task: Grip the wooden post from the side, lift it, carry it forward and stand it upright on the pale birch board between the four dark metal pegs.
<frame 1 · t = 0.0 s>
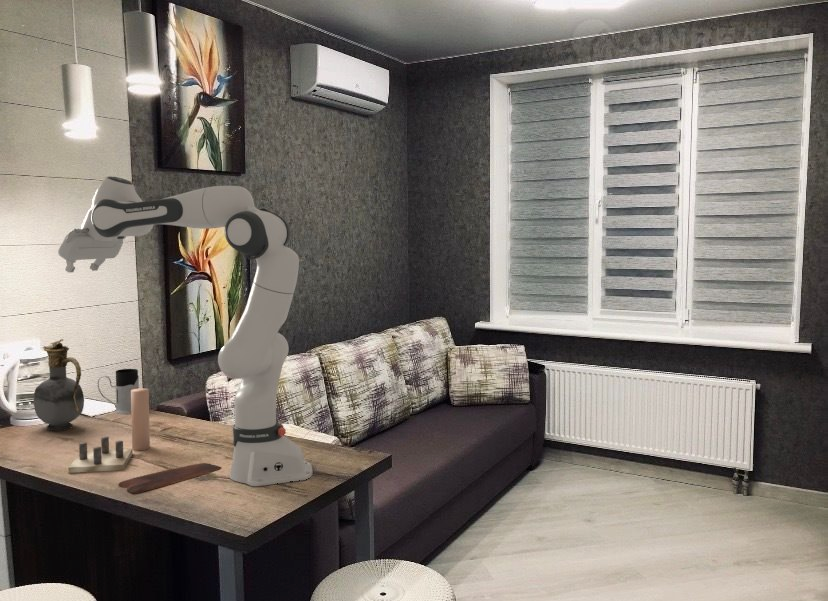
hand: (81, 270, 199), 54 cm above the table, tool tilted 30°, fingers open, 8 cm apart
post: (141, 448, 210), on the table
pitcher: (63, 429, 229), on the table
glass holder: (119, 412, 251), on the table
wooden tablet: (172, 479, 187), on the table
peg stand: (101, 462, 197), on the table
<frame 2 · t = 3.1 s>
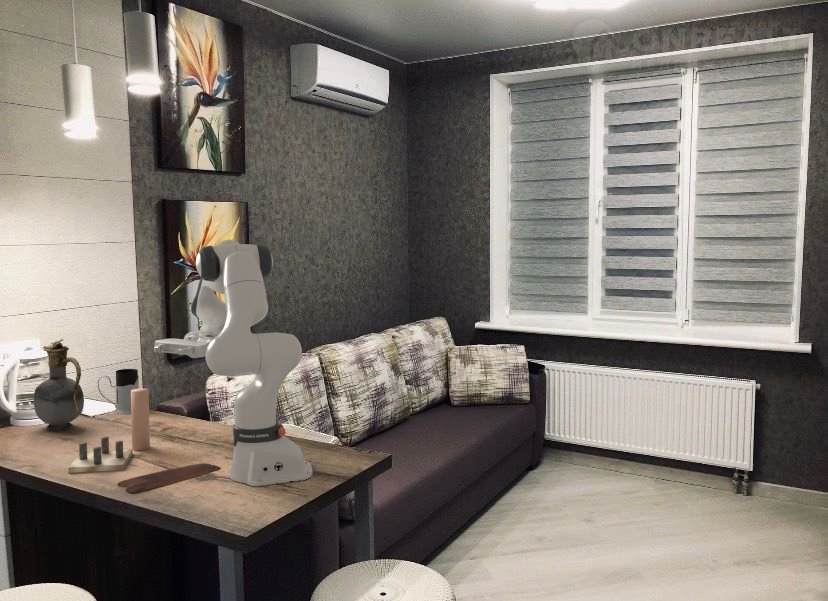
hand: (167, 351, 219), 28 cm above the table, tool horizontal, fingers open, 8 cm apart
nothing on the table moved.
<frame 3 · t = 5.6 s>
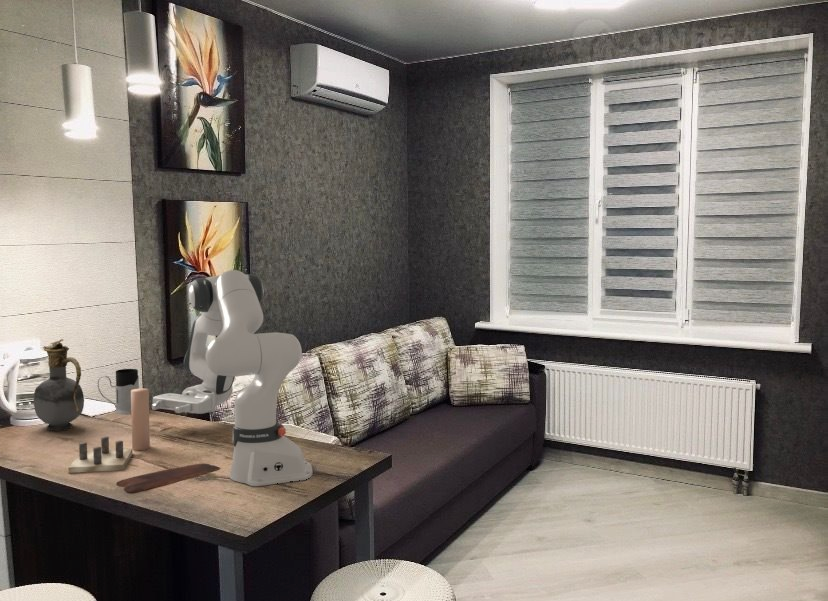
hand: (165, 408, 219), 10 cm above the table, tool horizontal, fingers open, 8 cm apart
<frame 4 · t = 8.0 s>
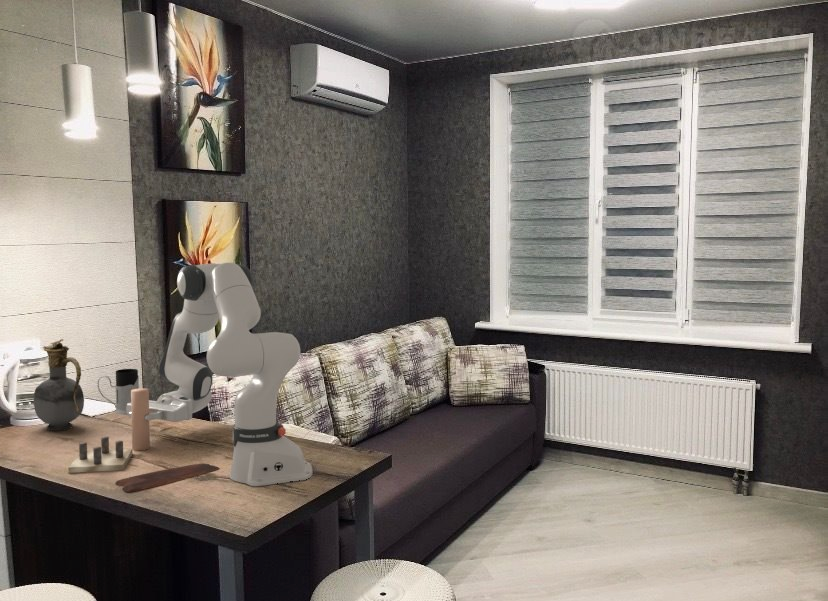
hand: (138, 416, 209), 10 cm above the table, tool horizontal, fingers closed on post, 5 cm apart
post: (141, 448, 210), on the table, touching gripper
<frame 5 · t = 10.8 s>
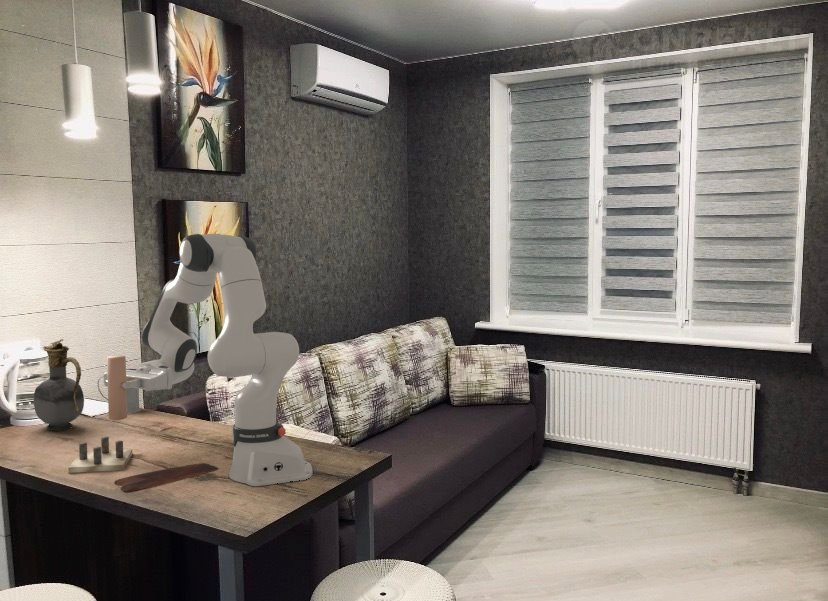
hand: (114, 384, 199), 22 cm above the table, tool horizontal, fingers closed on post, 5 cm apart
post: (118, 417, 201), point 12 cm above the table, touching gripper
when the fingers open (13 cm above the table, at t = 13.9 s): post drops 1 cm, resting on peg stand.
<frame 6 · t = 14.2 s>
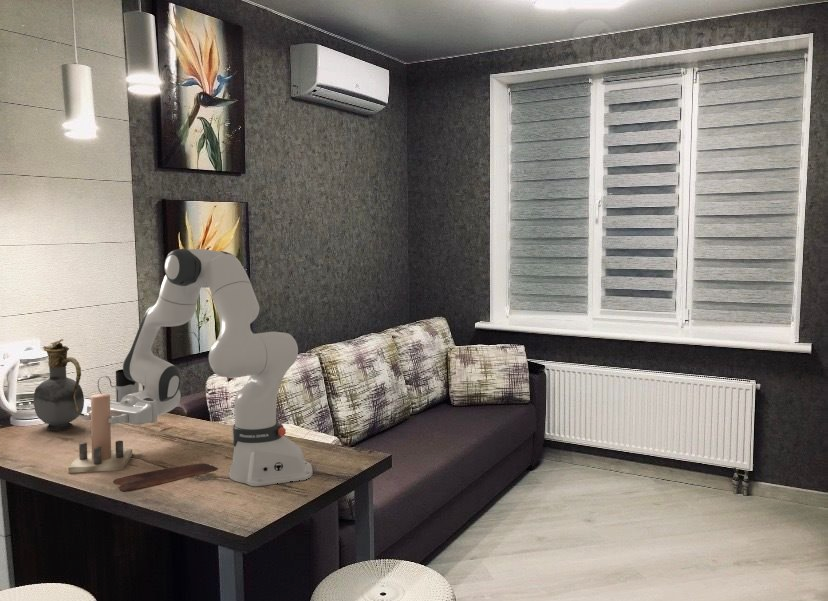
hand: (97, 419, 195), 13 cm above the table, tool horizontal, fingers open, 8 cm apart
post: (101, 457, 196), point 2 cm above the table, touching peg stand
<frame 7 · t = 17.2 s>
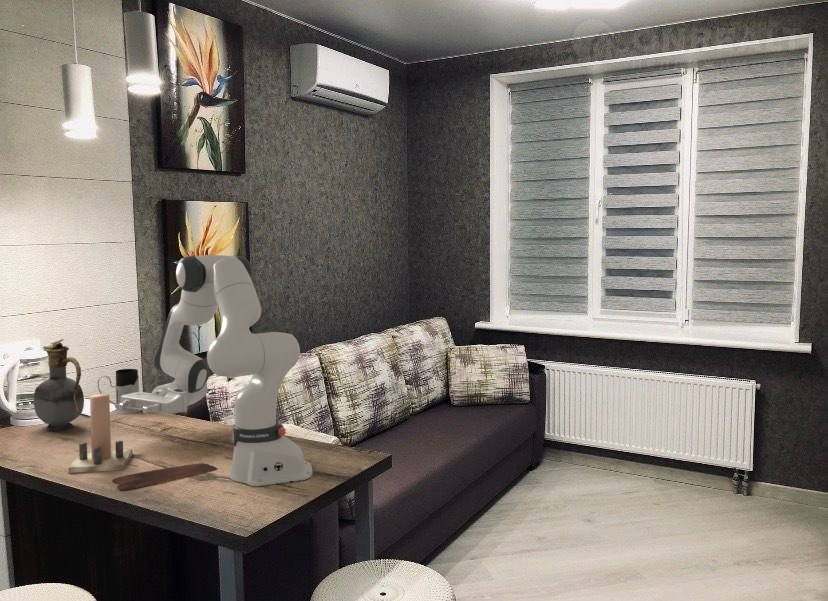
hand: (132, 408, 206), 13 cm above the table, tool horizontal, fingers open, 8 cm apart
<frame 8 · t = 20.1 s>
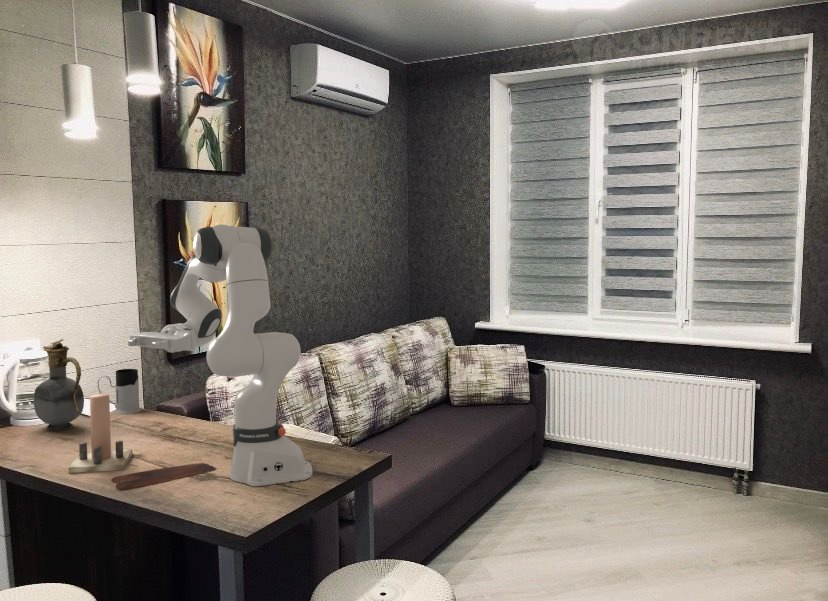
hand: (141, 344, 207), 32 cm above the table, tool horizontal, fingers open, 8 cm apart
at the end: post 0.0 cm off-centre on the peg stand, point 1.5 cm above the peg stand's base; post tilted 0°; the gripper is holding nothing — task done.
